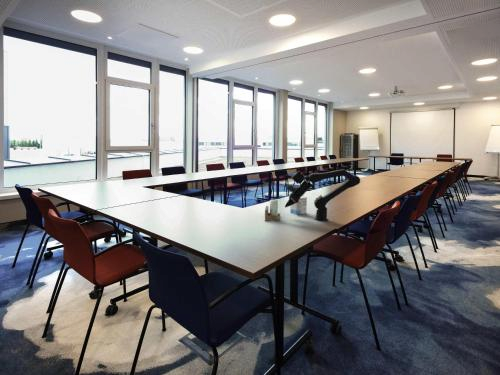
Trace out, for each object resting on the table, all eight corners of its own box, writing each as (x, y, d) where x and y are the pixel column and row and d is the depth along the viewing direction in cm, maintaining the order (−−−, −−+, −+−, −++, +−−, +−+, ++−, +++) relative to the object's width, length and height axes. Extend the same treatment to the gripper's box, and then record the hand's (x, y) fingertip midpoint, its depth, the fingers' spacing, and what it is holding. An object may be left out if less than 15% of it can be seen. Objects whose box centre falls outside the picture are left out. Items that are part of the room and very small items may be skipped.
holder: (280, 216, 207) (280, 206, 206) (280, 221, 194) (280, 210, 193) (266, 215, 208) (266, 205, 207) (264, 220, 195) (265, 209, 194)
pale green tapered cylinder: (279, 218, 200) (279, 200, 198) (272, 219, 197) (272, 201, 196) (274, 217, 204) (274, 199, 203) (268, 218, 202) (268, 200, 200)
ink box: (296, 214, 212) (296, 195, 210) (290, 212, 219) (290, 193, 217) (306, 213, 215) (307, 194, 213) (300, 211, 223) (300, 192, 221)
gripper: (294, 179, 206) (278, 195, 209) (292, 180, 188) (275, 199, 190) (306, 190, 205) (289, 207, 208) (306, 193, 187) (288, 211, 190)
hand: (285, 206), depth 199 cm, fingers open, 9 cm apart
